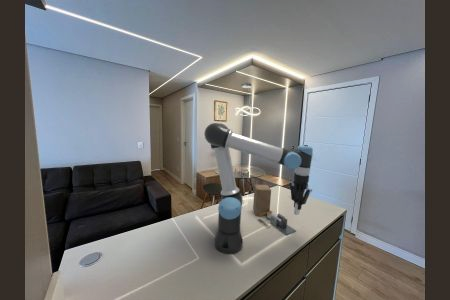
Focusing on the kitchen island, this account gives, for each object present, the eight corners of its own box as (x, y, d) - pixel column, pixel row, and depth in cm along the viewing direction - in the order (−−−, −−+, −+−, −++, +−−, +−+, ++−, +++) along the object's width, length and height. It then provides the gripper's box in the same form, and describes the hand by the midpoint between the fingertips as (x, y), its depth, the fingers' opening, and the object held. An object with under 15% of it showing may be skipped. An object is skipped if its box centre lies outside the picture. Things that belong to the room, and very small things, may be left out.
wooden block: (269, 216, 117) (271, 189, 115) (255, 216, 117) (256, 189, 115) (265, 209, 127) (267, 184, 125) (252, 209, 127) (254, 184, 125)
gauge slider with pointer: (273, 231, 99) (274, 223, 98) (256, 219, 112) (257, 211, 111) (286, 226, 105) (287, 218, 104) (269, 215, 118) (269, 208, 117)
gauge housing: (279, 238, 95) (280, 229, 94) (256, 220, 112) (257, 213, 111) (295, 231, 101) (296, 223, 101) (271, 216, 119) (272, 209, 118)
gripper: (317, 176, 88) (311, 218, 91) (296, 170, 99) (291, 207, 102) (308, 178, 84) (302, 221, 88) (287, 171, 96) (283, 209, 99)
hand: (296, 213), depth 95 cm, fingers closed
